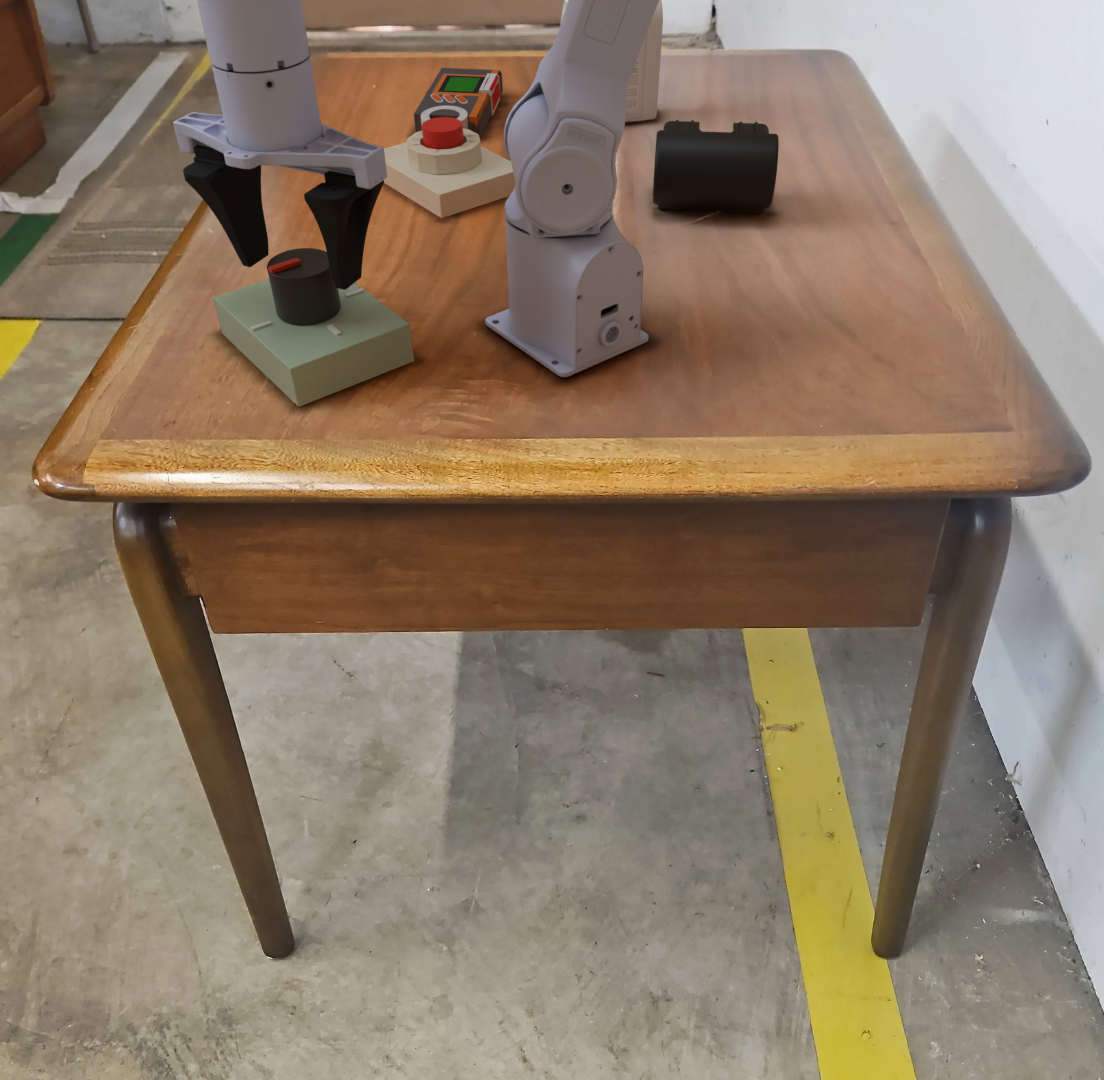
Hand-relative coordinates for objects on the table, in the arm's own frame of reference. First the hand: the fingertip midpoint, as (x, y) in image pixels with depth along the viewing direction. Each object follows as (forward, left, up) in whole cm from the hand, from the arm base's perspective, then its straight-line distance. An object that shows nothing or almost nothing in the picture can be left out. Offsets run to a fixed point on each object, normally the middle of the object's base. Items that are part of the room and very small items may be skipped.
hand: (301, 271), depth 69 cm
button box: (+18, -23, -6) cm, 30 cm away
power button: (+18, -23, -2) cm, 29 cm away
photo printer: (+21, -45, -6) cm, 50 cm away
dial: (0, 0, -3) cm, 3 cm away
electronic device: (+31, -33, -6) cm, 46 cm away
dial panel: (0, 0, -6) cm, 6 cm away
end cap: (-1, -38, -6) cm, 39 cm away
